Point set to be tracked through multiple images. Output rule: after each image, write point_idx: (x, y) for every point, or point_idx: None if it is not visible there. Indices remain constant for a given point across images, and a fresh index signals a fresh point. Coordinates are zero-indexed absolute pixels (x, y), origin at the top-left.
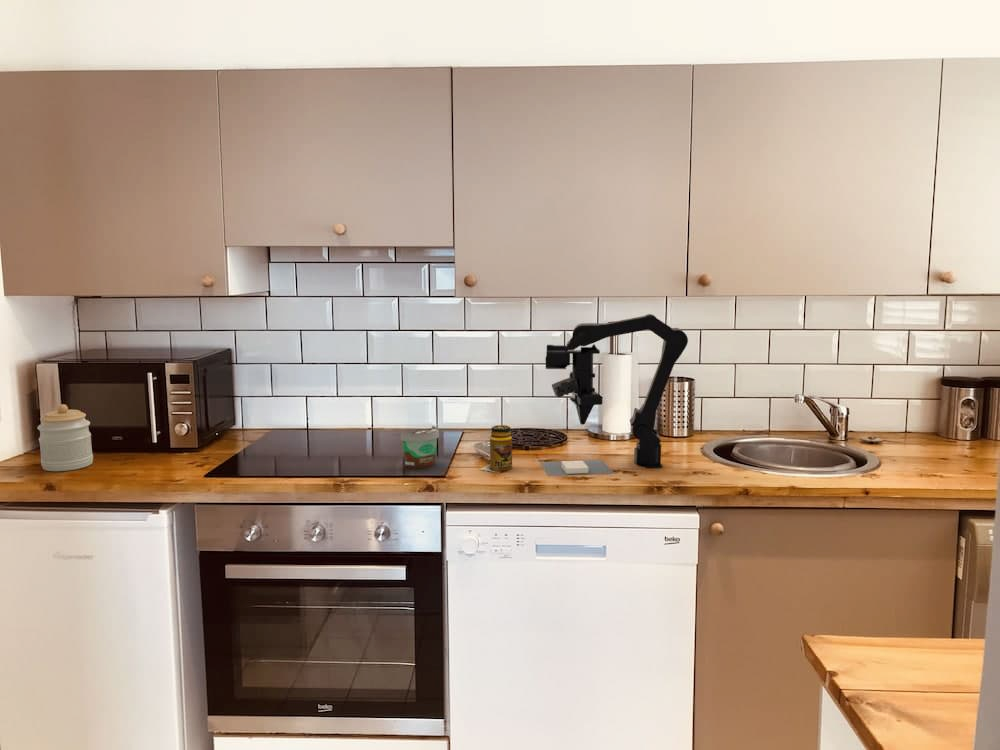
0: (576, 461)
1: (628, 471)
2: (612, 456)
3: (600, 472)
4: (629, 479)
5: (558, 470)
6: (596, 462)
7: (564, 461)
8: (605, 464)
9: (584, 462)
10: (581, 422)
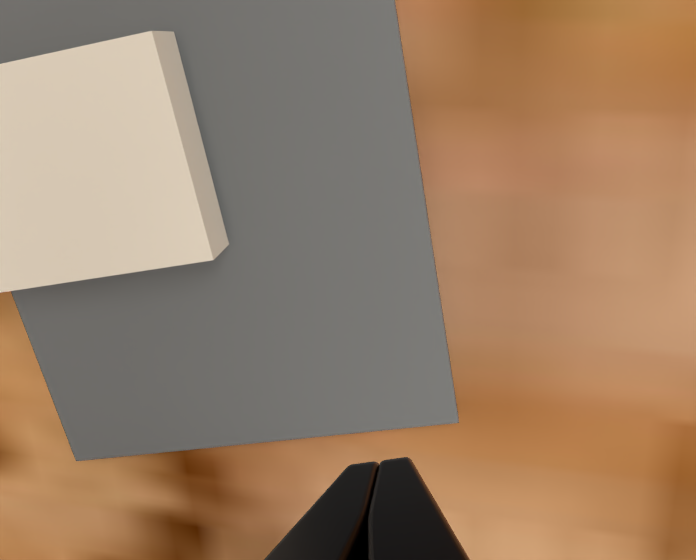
0: (170, 198)
1: (197, 550)
2: (634, 513)
3: (76, 369)
4: (8, 525)
5: (64, 2)
6: (376, 371)
7: (153, 69)
8: (315, 432)
9: (370, 269)
10: (330, 497)
